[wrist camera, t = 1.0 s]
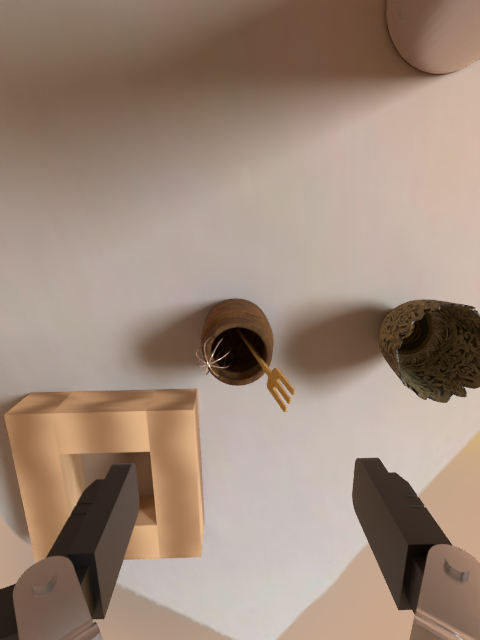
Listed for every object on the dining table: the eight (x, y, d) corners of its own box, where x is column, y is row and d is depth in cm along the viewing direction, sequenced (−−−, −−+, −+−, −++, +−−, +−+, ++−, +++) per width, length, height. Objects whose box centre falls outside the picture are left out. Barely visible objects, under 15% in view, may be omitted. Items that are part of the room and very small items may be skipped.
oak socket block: (197, 388, 33) (193, 409, 29) (204, 522, 37) (201, 556, 33) (30, 392, 33) (3, 414, 29) (55, 527, 37) (35, 562, 33)
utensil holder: (217, 287, 31) (209, 322, 19) (281, 311, 31) (311, 359, 20) (195, 345, 32) (175, 411, 20) (257, 367, 33) (272, 443, 21)
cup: (453, 319, 32) (523, 347, 24) (397, 376, 33) (447, 421, 26) (397, 269, 31) (453, 283, 23) (342, 331, 32) (377, 363, 24)
